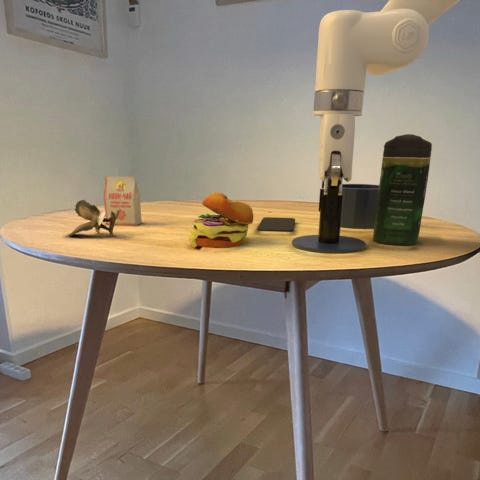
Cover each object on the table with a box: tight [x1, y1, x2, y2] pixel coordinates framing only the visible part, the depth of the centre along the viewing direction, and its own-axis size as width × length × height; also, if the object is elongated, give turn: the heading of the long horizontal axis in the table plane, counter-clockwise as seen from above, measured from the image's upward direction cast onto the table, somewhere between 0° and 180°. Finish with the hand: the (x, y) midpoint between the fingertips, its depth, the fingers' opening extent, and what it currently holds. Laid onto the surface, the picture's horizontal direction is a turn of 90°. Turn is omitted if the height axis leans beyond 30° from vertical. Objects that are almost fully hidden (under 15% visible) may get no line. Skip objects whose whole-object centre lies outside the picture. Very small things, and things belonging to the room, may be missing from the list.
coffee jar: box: [372, 133, 433, 247], centre depth 82 cm, size 10×8×19 cm
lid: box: [291, 209, 367, 254], centre depth 80 cm, size 13×13×7 cm
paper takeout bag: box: [103, 175, 143, 226], centre depth 102 cm, size 4×7×10 cm, turn 80°
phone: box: [256, 216, 296, 233], centre depth 100 cm, size 7×1×15 cm
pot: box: [340, 183, 379, 230], centre depth 100 cm, size 12×12×8 cm
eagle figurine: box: [67, 199, 120, 237], centre depth 90 cm, size 8×7×9 cm
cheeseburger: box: [188, 191, 254, 248], centre depth 82 cm, size 10×11×10 cm
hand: (328, 216), depth 79 cm, fingers open, 9 cm apart
